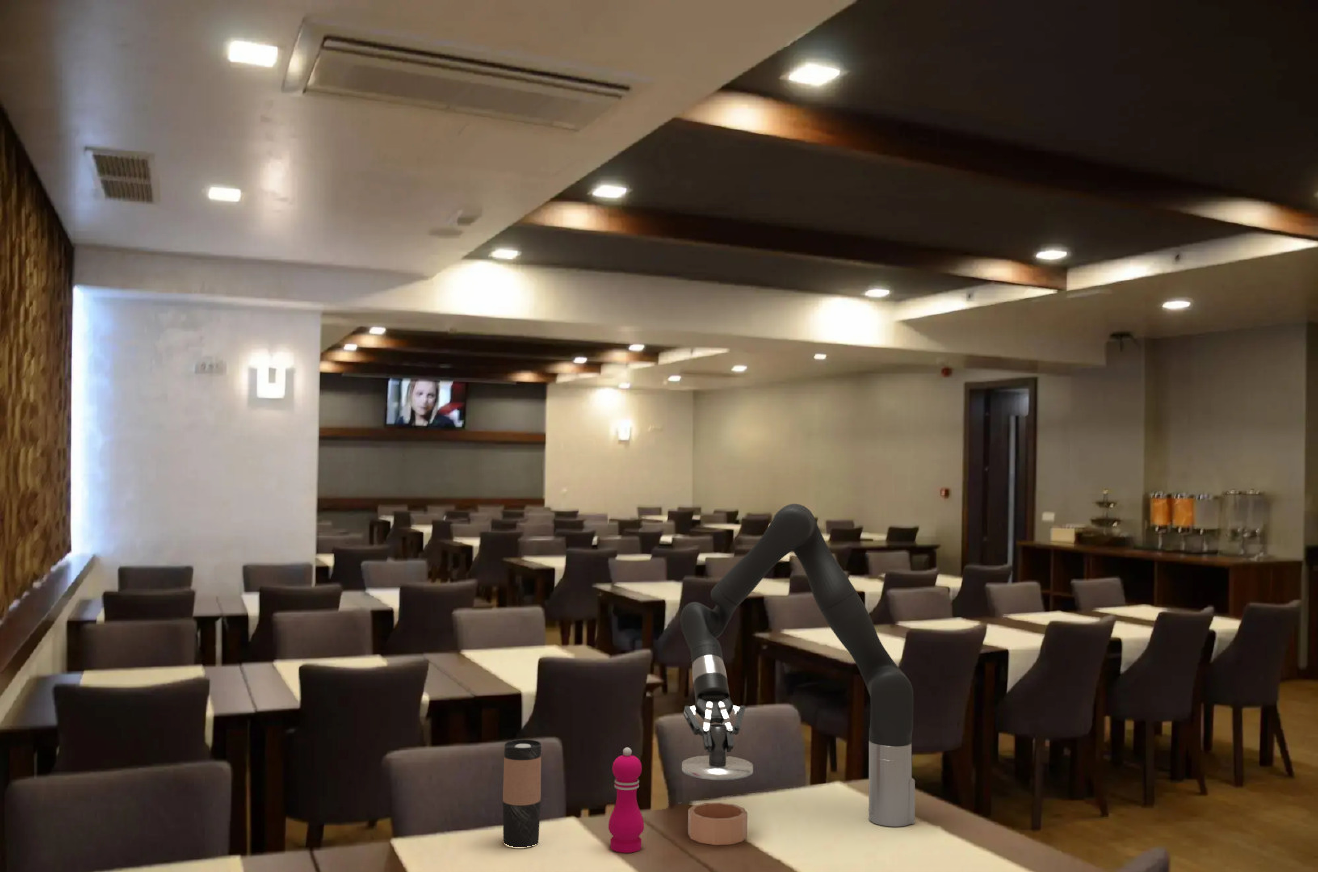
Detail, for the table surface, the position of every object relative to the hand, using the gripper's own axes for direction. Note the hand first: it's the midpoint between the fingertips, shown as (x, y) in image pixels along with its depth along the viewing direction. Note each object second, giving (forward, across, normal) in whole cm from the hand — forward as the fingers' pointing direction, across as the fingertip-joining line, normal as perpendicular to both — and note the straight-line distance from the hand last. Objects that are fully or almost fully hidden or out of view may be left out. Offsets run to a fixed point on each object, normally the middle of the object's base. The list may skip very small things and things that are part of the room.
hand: (719, 749), depth 221 cm
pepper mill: (+16, -20, +10) cm, 27 cm away
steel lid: (+2, 0, +5) cm, 5 cm away
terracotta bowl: (+12, 0, +14) cm, 18 cm away
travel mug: (+13, -41, +13) cm, 45 cm away
